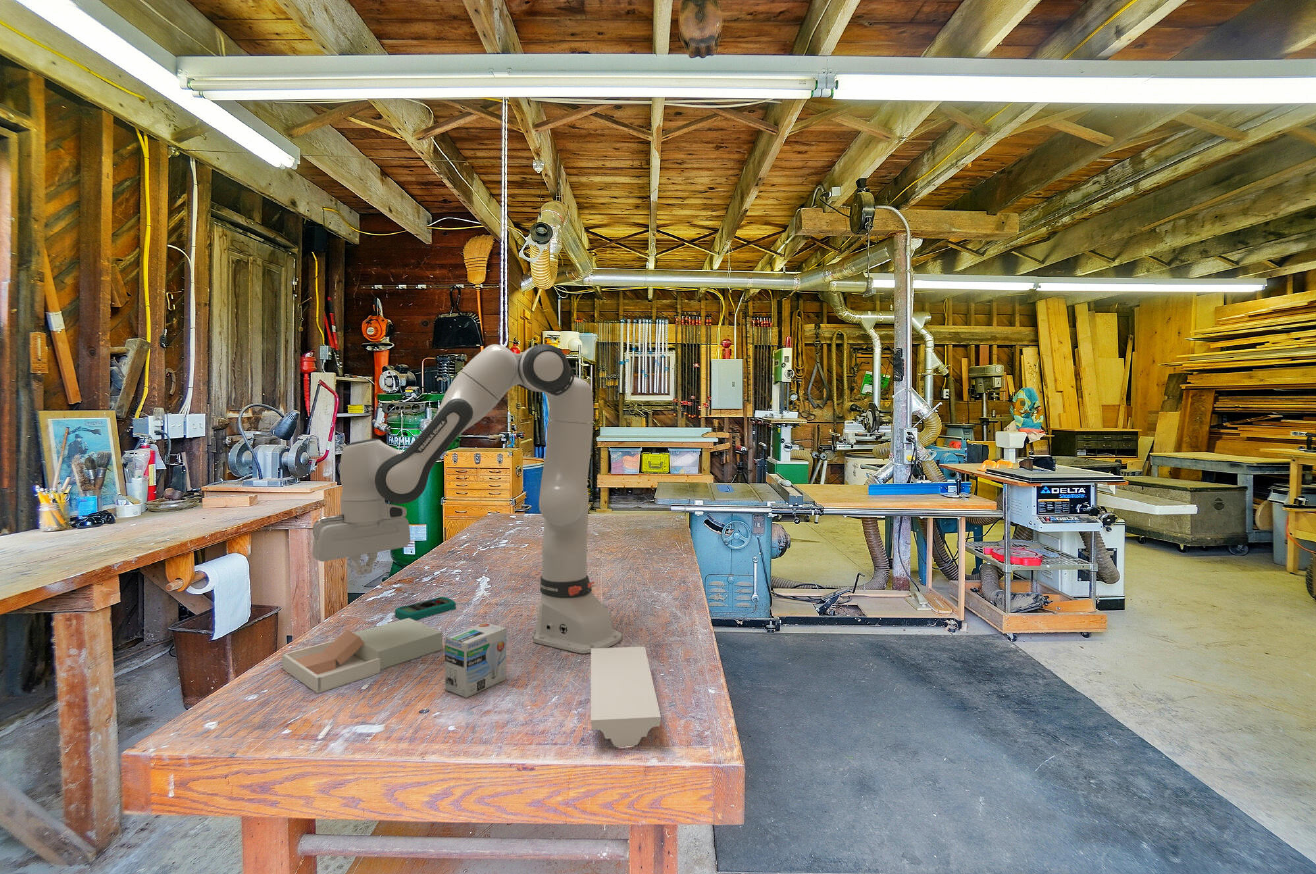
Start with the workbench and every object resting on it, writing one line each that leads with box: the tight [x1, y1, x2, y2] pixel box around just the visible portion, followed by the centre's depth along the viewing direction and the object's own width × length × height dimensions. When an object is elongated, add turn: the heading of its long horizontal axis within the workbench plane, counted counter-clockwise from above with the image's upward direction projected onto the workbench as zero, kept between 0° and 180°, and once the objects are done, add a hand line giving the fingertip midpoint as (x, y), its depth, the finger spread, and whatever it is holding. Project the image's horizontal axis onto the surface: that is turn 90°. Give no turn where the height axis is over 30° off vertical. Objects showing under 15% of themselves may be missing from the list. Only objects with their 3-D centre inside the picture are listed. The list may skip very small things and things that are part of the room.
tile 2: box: [324, 629, 365, 665], centre depth 130 cm, size 6×6×2 cm
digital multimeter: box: [394, 596, 457, 621], centre depth 164 cm, size 7×15×3 cm, turn 142°
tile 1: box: [294, 651, 336, 674], centre depth 126 cm, size 6×6×2 cm
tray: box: [281, 639, 381, 694], centre depth 126 cm, size 18×12×3 cm
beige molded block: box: [590, 646, 662, 748], centre depth 113 cm, size 12×30×5 cm, turn 6°
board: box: [353, 618, 443, 670], centre depth 137 cm, size 15×15×4 cm
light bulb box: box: [444, 622, 507, 698], centre depth 120 cm, size 11×7×11 cm, turn 148°
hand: (364, 573), depth 133 cm, fingers closed
